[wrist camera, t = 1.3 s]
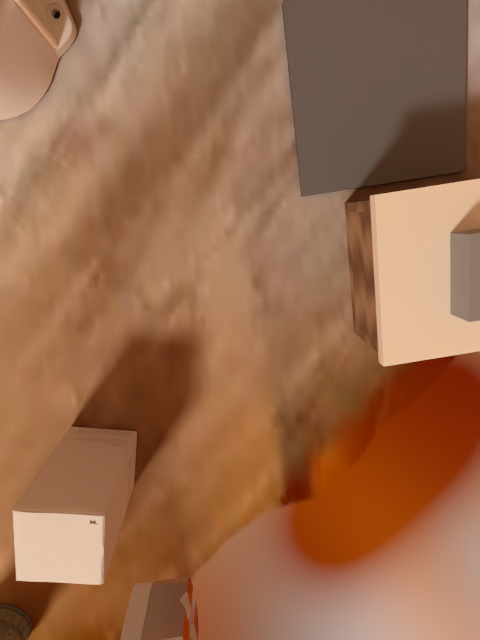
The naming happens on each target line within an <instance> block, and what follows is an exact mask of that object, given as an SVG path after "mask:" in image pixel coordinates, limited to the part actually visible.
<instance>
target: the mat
mask: <svg viewBox="0 0 480 640" xmlns="http://www.w3.org/2000/svg"><path fill="white" fill-rule="evenodd" d="M282 10H283V20H284V30H285V39H286V49H287V59H288V69H289V79H290V89H291V98H292V108H293V118H294V128H295V138H296V148H297V157H298V167H299V177H300V187H301V197H302V196H308V195H314V194H321V193H327V192H334V191H340V190H346V189H353V188H359V187H366V186H372V185H378V184H385V183H391V182H398V181H404V180H410V179H417V178H423V177H430V176H436V175H442V174H449V173H455V172H462V171H465V168H466V60H467V0H285V1H283V2H282Z"/></svg>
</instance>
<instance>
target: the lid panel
mask: <svg viewBox="0 0 480 640" xmlns="http://www.w3.org/2000/svg"><path fill="white" fill-rule="evenodd" d="M370 209H371V227H372V245H373V264H374V282H375V300H376V318H377V336H378V354H379V363H380V364H381V365H382V366H390V365H397V364H403V363H409V362H415V361H421V360H427V359H434V358H440V357H446V356H452V355H458V354H464V353H471V352H477V351H480V178H479V179H472V180H466V181H460V182H453V183H447V184H440V185H434V186H428V187H421V188H415V189H409V190H402V191H396V192H389V193H383V194H377V195H370Z"/></svg>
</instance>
